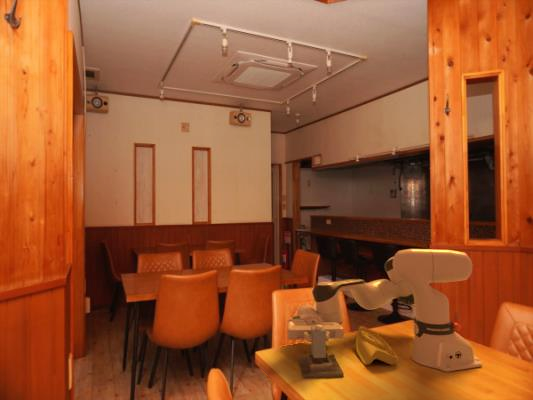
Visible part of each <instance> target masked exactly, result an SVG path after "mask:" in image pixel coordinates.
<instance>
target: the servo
mask: <svg viewBox="0 0 533 400" xmlns="http://www.w3.org/2000/svg"><path fill="white" fill-rule="evenodd" d="M311 335H312V336H313V342H310V345H311V348H310V349H311V350H310V351H311V354H312V355H313V357H314V358H326V353H327V346H326V342H327V341H326V332H325V329H324V327H323V326H322V325H315V326H311Z"/></svg>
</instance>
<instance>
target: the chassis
mask: <svg viewBox="0 0 533 400" xmlns="http://www.w3.org/2000/svg"><path fill="white" fill-rule="evenodd" d="M297 361H298V365H299V368H300V372H301V375H302V378H303V379H317V378H318V379H319V378H322V379H323V378H344V376H345V375H344V374H345V373H344V371H343V370H342V368H341V366H340V364H339V362H338V360H337V358H336V357H335V355H334V354H329V353H327V352H326V358H314V357H313V355H312V353H306V355H297Z"/></svg>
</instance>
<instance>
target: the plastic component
mask: <svg viewBox="0 0 533 400" xmlns="http://www.w3.org/2000/svg"><path fill="white" fill-rule="evenodd" d="M355 352H356V355H357V356H358V358H359V359H360V361H361V363H362V365H365V366H369V365H371V364H372V362H374V360H379V361H381V362H384V363H386V364H388V365H391V366H394V365H396V363H397V361H398V358H399V357H398V355H397V353H396V352H395V351H394V350H393V349H392V347H391V346H390V345H389V344H388V342H387V341H386V340H385V339H384V338H383V337H382V336H381V335H379V334H378V333H377V332H375V331H373V330H371V329H369V328H368V327H365V326H362V325H361V326H359V327H358V329H357V333H356V337H355Z"/></svg>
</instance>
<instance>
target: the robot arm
mask: <svg viewBox="0 0 533 400" xmlns="http://www.w3.org/2000/svg"><path fill="white" fill-rule="evenodd" d="M383 267H384V270H385V273H387V275H388V278H389V279H387V278H381V279H375V280H372V281H369V282H366V281H365V280H364V279H360V278H351V279H348V278H347V279H342V280H335V281H334V280H333V281H321V282H318V283H316V284H315V285H314V287H313V289H312V291H311V293H312V296H313V301H314V302H315V307H314V306H313V305H311V304H309V303H307V304H302V305H300V307H298V309H297V311H296V316H293V317H289V318H288V323H287V326H286V330H287V331H286V334H287V335H286V338H287V339H288V340H291V341H292V340H293V341H294V340H296V341H297V340H298V341H299V340H306V341H307V342H309V343H311V342H313V336H312V335H311V326H315V325H322V326H323V327H324V329H325V332H326V342H329V341H330V339H331V340H332V339H333V340H334V339H343V338H344V337H345V330H344V327H343V326H342V323H343V322H344V318H343V311H342V308H341V303H340V302H341V301H340V296H339V295H340V292H345V291H350V293H351V294H352V296H353V298H354V300H355V303H357V304H358V305H359V306H360V307H361V308H363V309H365V310H369V311H371V310H373V311H374V310H375V309H379V308H380V307H382V306H384V305H386V304H388V303H389V302H390V301H392V300H394V299H398V300H397V301H396V302H397V303H401V304H403V305H405V306H409V307H410V306H414V317H413V333H414V338H413V346H412V351H411V353H410V358H411V359H412V360H413V361H414V362H415V363H418V364H420V365H422V366H426V367H428V368H429V367H430V368H433V369H437V370H439V371H443V372H454V371H458V370H459V371H462V370H466V369H473V368H479V367H480V368H481V367H482V365H483V364H482V361H481V359H480V358H479V357H478V356H476V355H475V354H474V349H473V346H472V344H471V343H470V342H469V341H468V340H467V339H466V338H464V337H462V336H461V334H459V333H458V332H456V331H459V330H461V329H462V327H461V325H460V324H459V323H457V322H454V321H452V320H450V301H449V298H448V297H447V295H446V294H444V293H443V292H441V291H439V290H437V289H435V288H433V287H432V286H431V285H430V284H432V283H451V282H460V281H461V282H462V281H466V280H468V279H469V278H470V277H471V275H472V273H473V268H474V267H473V262H472V260H471V258H470V257H469V255H468V254H467V253H466V252H464V251H459V250H453V249H435V248H433V249H430V248H407V249H401V250H398V251H397V252H396V253H394V256H392V257H390V258H388V260H386V262H384V266H383Z"/></svg>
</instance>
